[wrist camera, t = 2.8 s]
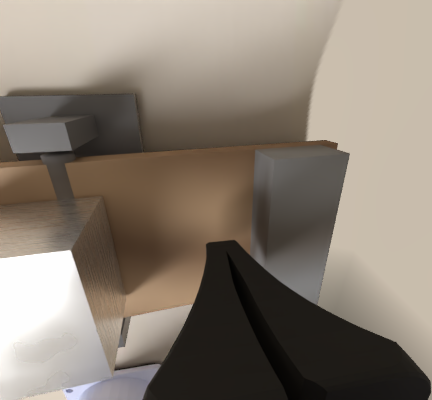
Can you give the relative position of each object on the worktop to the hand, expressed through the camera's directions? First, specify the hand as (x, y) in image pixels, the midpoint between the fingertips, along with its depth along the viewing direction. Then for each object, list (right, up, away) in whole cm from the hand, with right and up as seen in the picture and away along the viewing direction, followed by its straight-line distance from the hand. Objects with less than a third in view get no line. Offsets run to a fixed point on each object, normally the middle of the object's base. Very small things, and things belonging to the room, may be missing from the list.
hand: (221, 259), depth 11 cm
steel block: (-8, 0, 0) cm, 8 cm away
